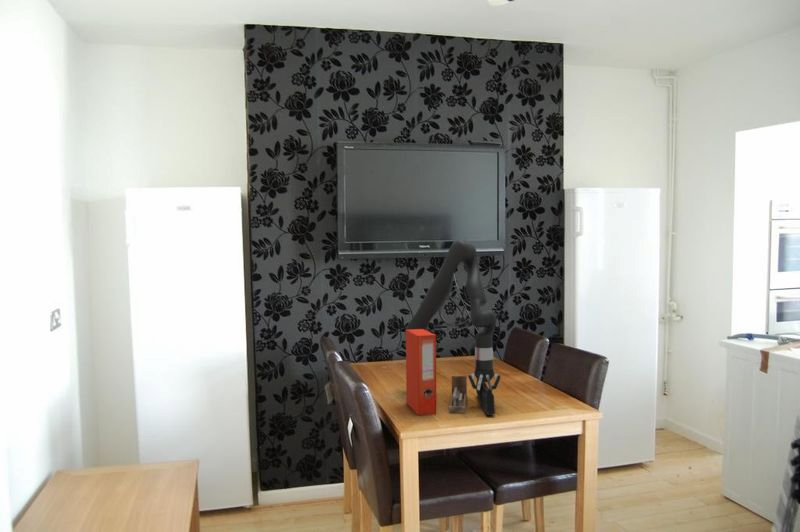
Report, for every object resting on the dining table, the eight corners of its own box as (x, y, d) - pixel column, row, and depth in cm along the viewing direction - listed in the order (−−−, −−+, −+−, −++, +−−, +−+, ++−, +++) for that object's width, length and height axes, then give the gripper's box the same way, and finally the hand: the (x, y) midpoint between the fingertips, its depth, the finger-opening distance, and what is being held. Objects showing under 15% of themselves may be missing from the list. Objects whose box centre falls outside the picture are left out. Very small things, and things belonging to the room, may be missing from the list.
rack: (448, 413, 230) (448, 388, 229) (452, 398, 252) (451, 375, 251) (465, 413, 229) (464, 388, 228) (466, 398, 251) (466, 375, 250)
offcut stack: (453, 410, 234) (452, 396, 233) (455, 401, 247) (454, 387, 247) (461, 410, 233) (461, 396, 233) (462, 401, 247) (462, 387, 247)
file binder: (424, 402, 246) (423, 328, 245) (437, 413, 229) (435, 334, 228) (406, 404, 244) (405, 329, 243) (417, 415, 227) (416, 336, 226)
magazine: (495, 396, 220) (484, 358, 249) (487, 396, 220) (476, 358, 249) (494, 433, 226) (483, 392, 254) (485, 434, 226) (475, 393, 254)
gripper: (501, 356, 240) (501, 396, 241) (467, 355, 242) (467, 395, 243) (501, 359, 233) (502, 401, 234) (466, 359, 235) (467, 400, 236)
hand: (484, 398), depth 238 cm, fingers closed on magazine, 3 cm apart
